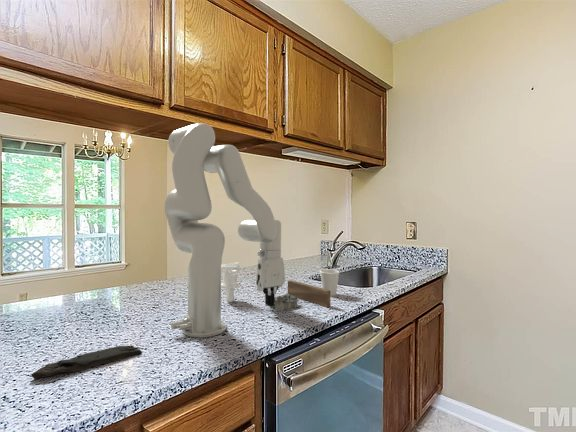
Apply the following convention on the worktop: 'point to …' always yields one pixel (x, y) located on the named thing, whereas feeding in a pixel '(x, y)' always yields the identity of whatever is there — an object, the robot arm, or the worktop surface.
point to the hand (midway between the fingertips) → (269, 305)
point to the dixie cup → (330, 280)
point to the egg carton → (285, 302)
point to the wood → (87, 361)
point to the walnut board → (309, 293)
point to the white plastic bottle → (230, 280)
